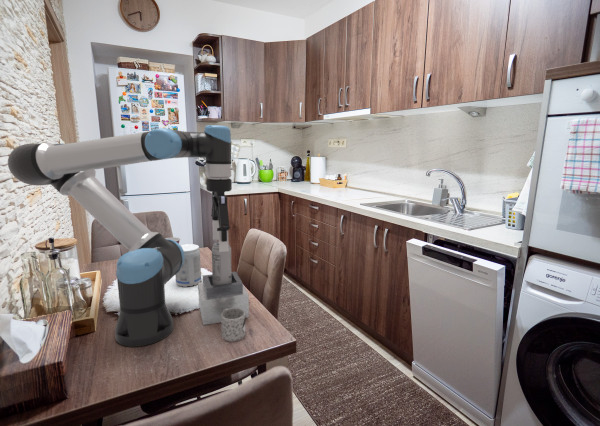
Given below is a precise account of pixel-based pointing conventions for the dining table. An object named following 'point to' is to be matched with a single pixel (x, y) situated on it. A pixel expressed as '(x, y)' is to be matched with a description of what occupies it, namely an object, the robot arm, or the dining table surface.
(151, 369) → the dining table surface
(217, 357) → the dining table surface
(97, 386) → the dining table surface
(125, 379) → the dining table surface
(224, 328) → the mug
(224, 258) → the energy drink can
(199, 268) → the supplement tub
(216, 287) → the block
